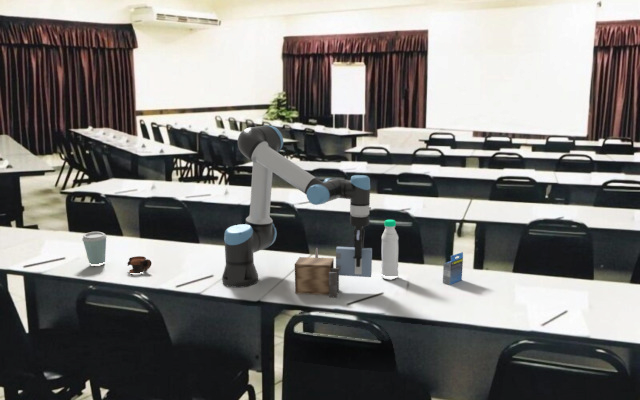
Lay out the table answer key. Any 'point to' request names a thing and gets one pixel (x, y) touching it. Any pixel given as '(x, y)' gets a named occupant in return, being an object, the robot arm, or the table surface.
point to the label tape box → (453, 269)
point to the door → (353, 261)
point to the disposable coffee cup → (95, 246)
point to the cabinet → (316, 276)
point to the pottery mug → (139, 264)
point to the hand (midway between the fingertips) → (358, 272)
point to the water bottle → (390, 249)
